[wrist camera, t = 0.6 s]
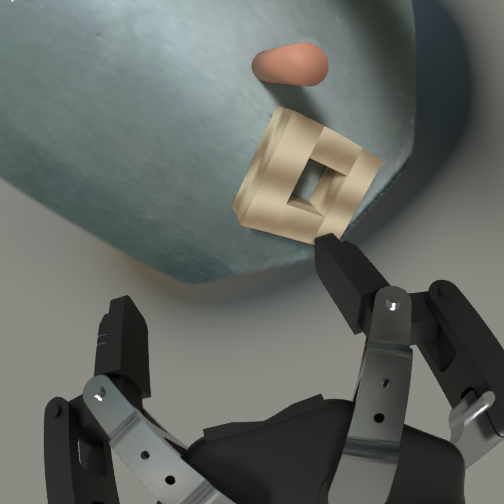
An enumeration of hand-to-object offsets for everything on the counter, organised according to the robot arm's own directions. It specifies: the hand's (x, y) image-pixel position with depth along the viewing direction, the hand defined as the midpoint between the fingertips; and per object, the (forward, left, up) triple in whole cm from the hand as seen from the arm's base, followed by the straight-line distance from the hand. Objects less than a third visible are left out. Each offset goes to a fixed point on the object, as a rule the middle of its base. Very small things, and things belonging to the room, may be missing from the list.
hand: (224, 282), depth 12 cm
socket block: (-1, +15, -24) cm, 28 cm away
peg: (-12, +5, -24) cm, 27 cm away
